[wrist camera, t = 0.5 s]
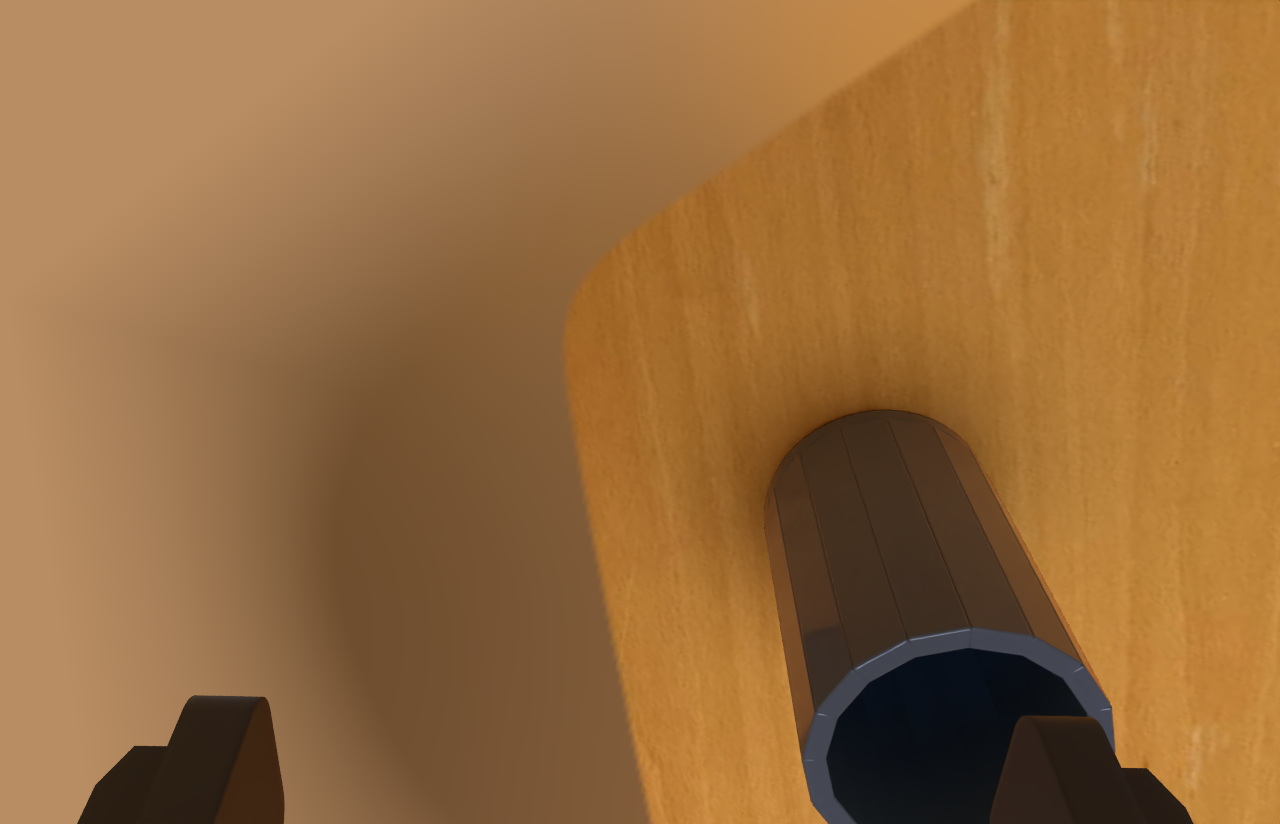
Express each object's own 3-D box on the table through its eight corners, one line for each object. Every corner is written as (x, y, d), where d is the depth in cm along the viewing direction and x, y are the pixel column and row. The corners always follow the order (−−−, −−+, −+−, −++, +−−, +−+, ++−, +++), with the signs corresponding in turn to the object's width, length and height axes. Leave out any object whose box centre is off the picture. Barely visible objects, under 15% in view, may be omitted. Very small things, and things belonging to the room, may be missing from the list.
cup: (790, 393, 32) (844, 608, 23) (1017, 428, 32) (1159, 654, 23) (743, 588, 34) (775, 850, 25) (954, 619, 35) (1059, 888, 26)
